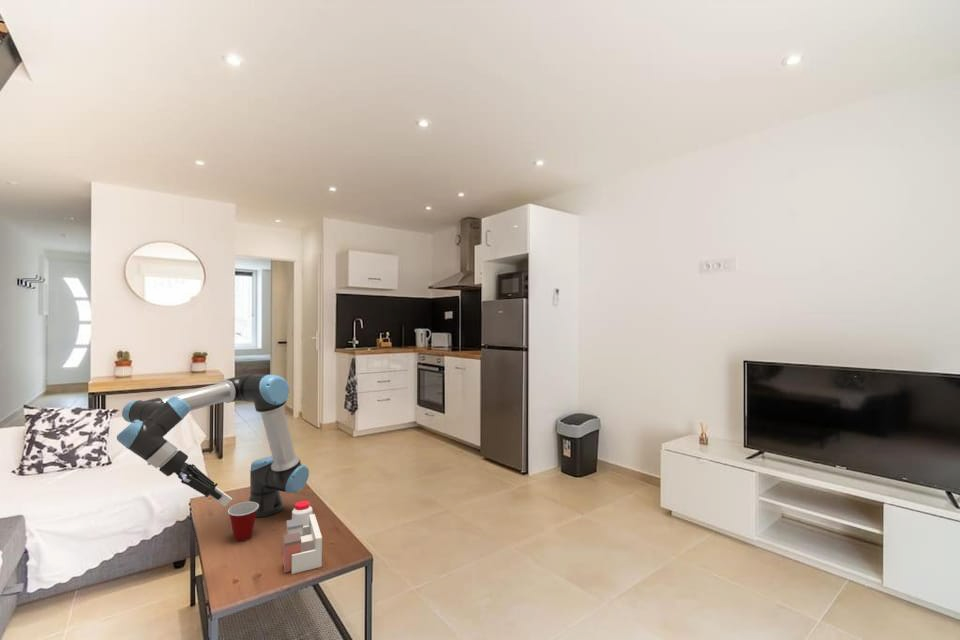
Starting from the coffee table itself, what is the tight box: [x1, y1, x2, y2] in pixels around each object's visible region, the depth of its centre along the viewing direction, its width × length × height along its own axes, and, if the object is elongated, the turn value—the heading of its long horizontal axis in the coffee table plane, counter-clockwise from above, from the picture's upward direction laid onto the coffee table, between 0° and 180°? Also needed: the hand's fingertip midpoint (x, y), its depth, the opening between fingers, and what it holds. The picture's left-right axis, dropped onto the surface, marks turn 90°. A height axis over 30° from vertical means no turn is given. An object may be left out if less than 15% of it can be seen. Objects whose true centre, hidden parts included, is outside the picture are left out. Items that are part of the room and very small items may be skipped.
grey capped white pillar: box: [286, 518, 303, 536], centre depth 159 cm, size 6×5×10 cm
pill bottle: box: [291, 500, 313, 526], centre depth 174 cm, size 8×8×11 cm
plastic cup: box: [227, 501, 259, 542], centre depth 168 cm, size 11×11×12 cm
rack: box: [291, 513, 323, 575], centre depth 155 cm, size 21×10×10 cm, turn 28°
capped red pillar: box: [282, 532, 301, 573], centre depth 148 cm, size 6×5×10 cm
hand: (228, 502), depth 143 cm, fingers closed
